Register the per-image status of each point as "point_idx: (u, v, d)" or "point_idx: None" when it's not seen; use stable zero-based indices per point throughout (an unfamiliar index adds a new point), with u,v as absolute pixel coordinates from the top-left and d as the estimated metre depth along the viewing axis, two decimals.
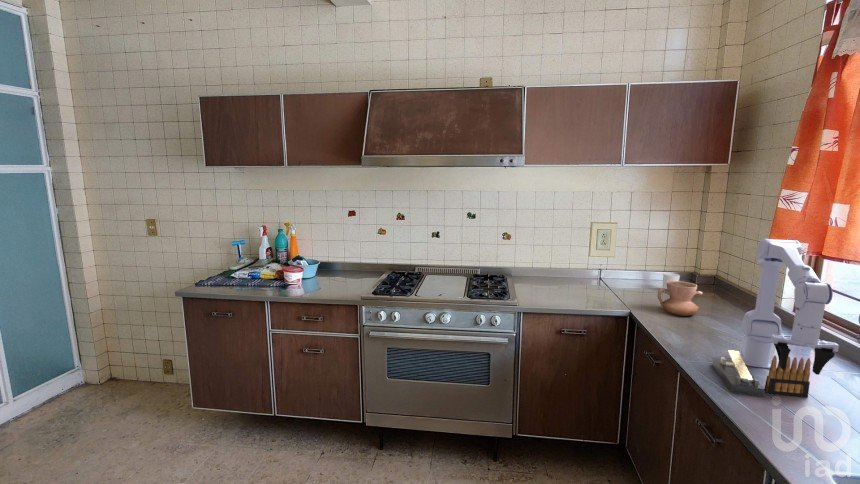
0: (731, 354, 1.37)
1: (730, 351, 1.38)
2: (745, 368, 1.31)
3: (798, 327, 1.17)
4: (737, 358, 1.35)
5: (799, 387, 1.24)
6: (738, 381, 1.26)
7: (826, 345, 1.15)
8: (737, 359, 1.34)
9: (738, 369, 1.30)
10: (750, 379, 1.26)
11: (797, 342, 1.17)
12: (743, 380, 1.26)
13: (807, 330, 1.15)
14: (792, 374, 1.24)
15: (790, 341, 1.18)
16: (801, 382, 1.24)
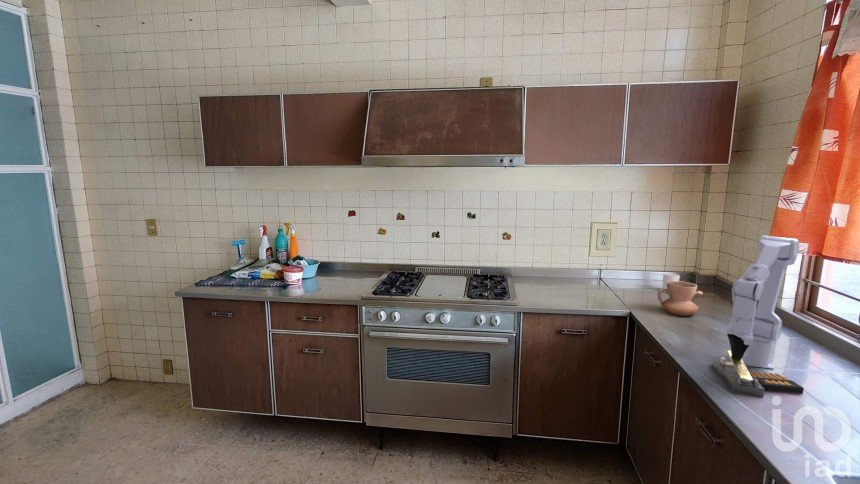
0: (731, 354, 1.37)
1: (730, 352, 1.38)
2: (745, 368, 1.31)
3: None
4: None
5: (787, 382, 1.30)
6: (738, 381, 1.26)
7: (739, 335, 1.30)
8: (736, 359, 1.34)
9: (738, 369, 1.30)
10: (750, 379, 1.26)
11: (729, 328, 1.37)
12: (743, 380, 1.26)
13: (731, 317, 1.35)
14: (771, 377, 1.34)
15: None
16: (784, 380, 1.31)
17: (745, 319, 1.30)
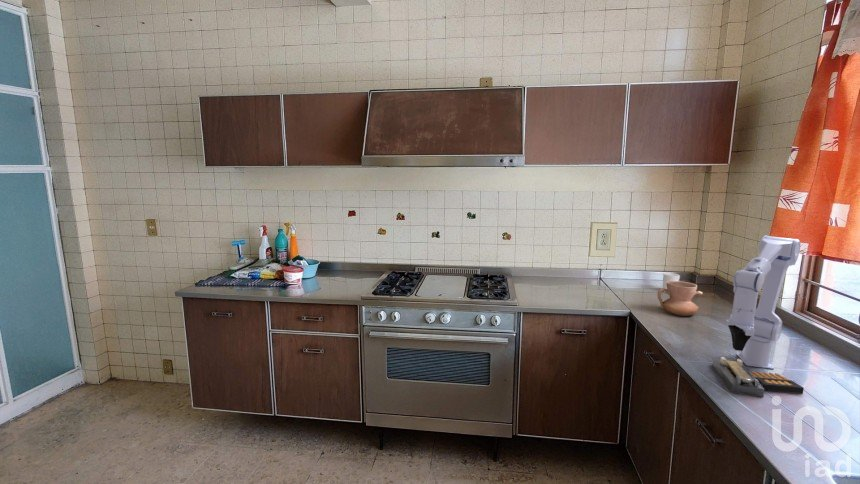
0: (729, 363, 1.38)
1: (728, 361, 1.39)
2: (744, 372, 1.31)
3: None
4: (735, 365, 1.36)
5: (787, 382, 1.30)
6: (738, 381, 1.26)
7: (740, 326, 1.30)
8: (735, 366, 1.35)
9: (737, 372, 1.31)
10: (750, 379, 1.26)
11: (730, 319, 1.36)
12: (743, 379, 1.26)
13: (732, 309, 1.34)
14: (771, 377, 1.34)
15: None
16: (784, 380, 1.31)
17: (746, 310, 1.30)
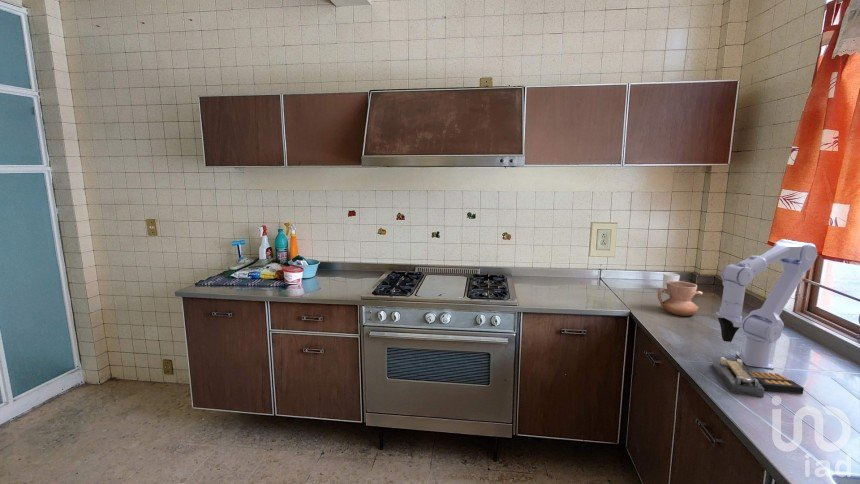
0: (729, 363, 1.38)
1: (728, 361, 1.39)
2: (744, 372, 1.31)
3: None
4: (735, 365, 1.36)
5: (787, 382, 1.30)
6: (738, 381, 1.26)
7: (728, 318, 1.37)
8: (735, 366, 1.35)
9: (737, 372, 1.31)
10: (750, 379, 1.26)
11: None
12: (743, 379, 1.26)
13: None
14: (771, 377, 1.34)
15: (720, 311, 1.44)
16: (784, 380, 1.31)
17: (731, 302, 1.37)
